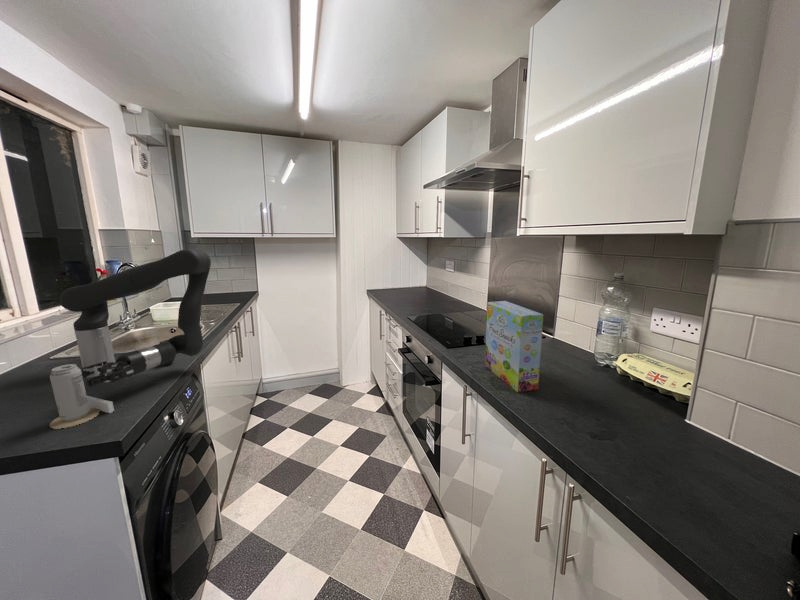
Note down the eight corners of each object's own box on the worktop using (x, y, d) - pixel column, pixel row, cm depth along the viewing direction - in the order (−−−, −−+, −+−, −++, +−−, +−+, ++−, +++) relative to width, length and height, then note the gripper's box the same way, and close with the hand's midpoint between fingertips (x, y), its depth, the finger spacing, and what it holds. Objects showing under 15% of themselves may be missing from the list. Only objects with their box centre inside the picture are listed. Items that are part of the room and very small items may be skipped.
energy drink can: (68, 413, 92) (56, 365, 89) (94, 409, 94) (84, 361, 92) (55, 425, 87) (42, 373, 84) (83, 420, 89) (71, 369, 86)
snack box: (482, 367, 122) (485, 301, 117) (502, 364, 124) (506, 300, 119) (516, 393, 101) (521, 315, 96) (540, 390, 104) (546, 313, 99)
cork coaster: (41, 425, 88) (41, 423, 88) (86, 406, 97) (86, 405, 97) (63, 432, 84) (63, 430, 84) (107, 412, 94) (107, 411, 93)
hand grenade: (166, 368, 125) (162, 343, 123) (156, 367, 126) (152, 343, 124) (179, 362, 131) (175, 339, 129) (169, 361, 132) (165, 338, 130)
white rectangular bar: (66, 401, 100) (64, 393, 99) (71, 400, 101) (69, 391, 101) (109, 413, 93) (107, 403, 93) (114, 411, 94) (112, 401, 94)
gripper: (123, 347, 107) (60, 365, 92) (152, 352, 103) (90, 372, 88) (127, 368, 109) (65, 389, 94) (156, 374, 104) (95, 397, 89)
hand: (77, 381), depth 91 cm, fingers open, 8 cm apart
